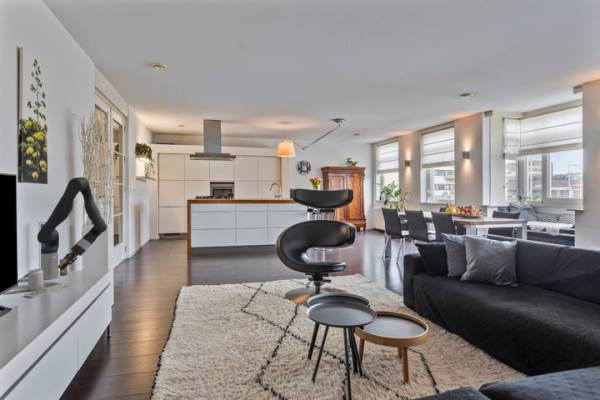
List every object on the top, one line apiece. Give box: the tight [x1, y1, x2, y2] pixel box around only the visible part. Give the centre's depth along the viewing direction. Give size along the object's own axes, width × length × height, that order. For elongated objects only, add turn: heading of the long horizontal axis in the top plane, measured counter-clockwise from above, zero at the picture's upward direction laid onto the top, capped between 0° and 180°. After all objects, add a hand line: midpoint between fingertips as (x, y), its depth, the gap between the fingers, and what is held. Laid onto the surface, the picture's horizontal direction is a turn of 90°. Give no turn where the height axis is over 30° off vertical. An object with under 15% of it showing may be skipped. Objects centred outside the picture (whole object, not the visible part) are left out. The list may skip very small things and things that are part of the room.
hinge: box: [24, 281, 76, 299], centre depth 208 cm, size 9×23×4 cm, turn 154°
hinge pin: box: [58, 258, 69, 277], centre depth 224 cm, size 4×4×10 cm
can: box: [27, 268, 45, 292], centre depth 213 cm, size 8×8×12 cm
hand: (60, 268), depth 222 cm, fingers closed on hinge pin, 4 cm apart
